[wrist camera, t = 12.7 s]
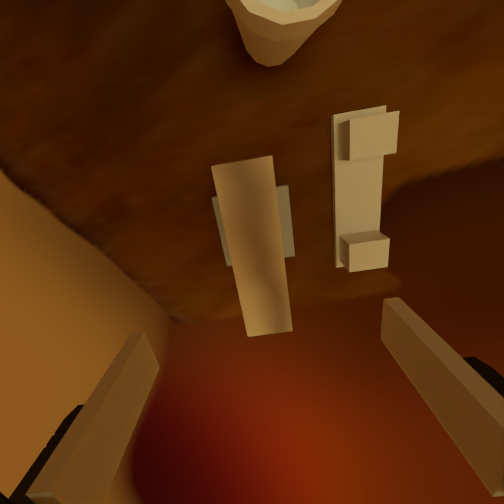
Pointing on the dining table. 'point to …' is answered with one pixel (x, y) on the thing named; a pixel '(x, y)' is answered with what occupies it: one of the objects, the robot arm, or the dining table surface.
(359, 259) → the beige bracket
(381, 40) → the dining table surface
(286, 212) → the fulcrum
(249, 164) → the bar
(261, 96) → the dining table surface
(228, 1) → the foam cup
